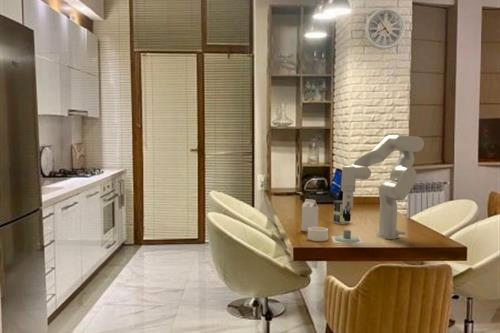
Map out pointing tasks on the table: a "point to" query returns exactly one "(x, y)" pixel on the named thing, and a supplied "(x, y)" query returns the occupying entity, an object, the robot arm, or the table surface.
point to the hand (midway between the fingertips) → (346, 219)
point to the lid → (347, 237)
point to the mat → (347, 242)
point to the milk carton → (309, 214)
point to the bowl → (317, 233)
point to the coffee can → (338, 212)
